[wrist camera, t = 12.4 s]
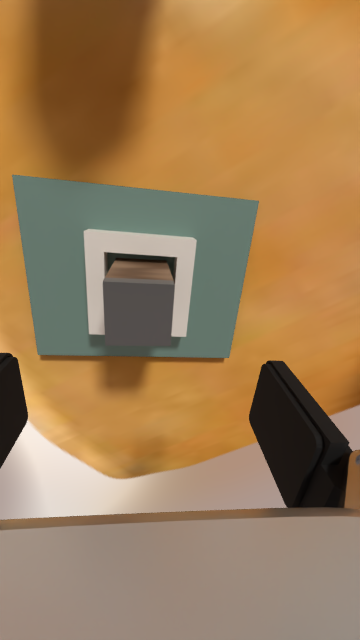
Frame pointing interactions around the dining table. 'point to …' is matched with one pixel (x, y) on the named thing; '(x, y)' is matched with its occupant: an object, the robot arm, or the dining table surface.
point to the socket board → (135, 243)
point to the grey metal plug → (138, 303)
